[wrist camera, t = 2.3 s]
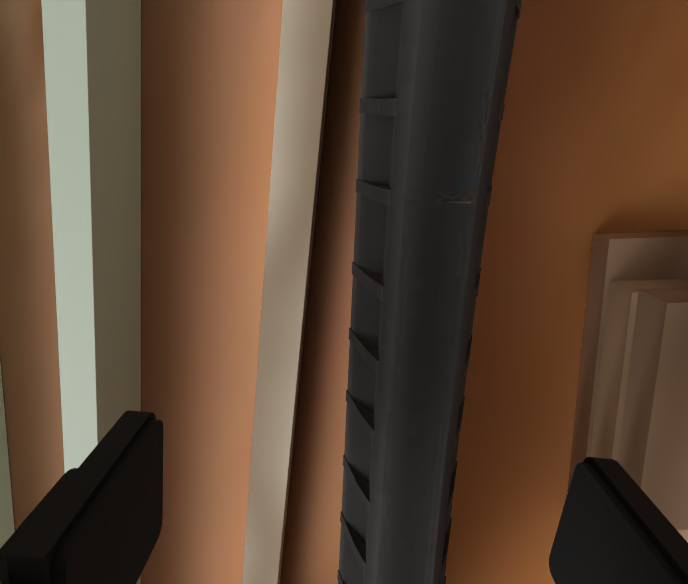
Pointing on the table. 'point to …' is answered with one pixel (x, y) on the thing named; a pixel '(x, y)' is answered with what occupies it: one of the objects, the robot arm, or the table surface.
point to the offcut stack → (637, 365)
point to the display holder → (92, 220)
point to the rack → (286, 275)
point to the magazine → (417, 273)
